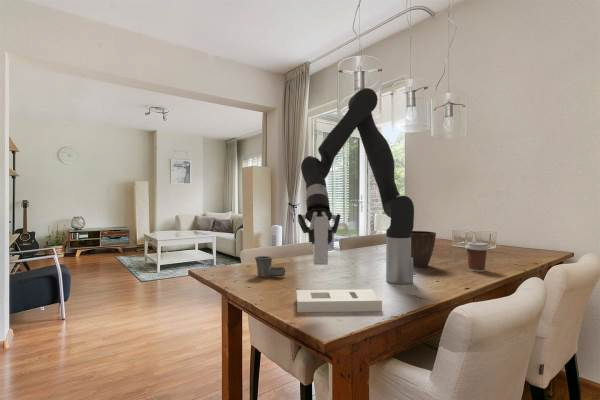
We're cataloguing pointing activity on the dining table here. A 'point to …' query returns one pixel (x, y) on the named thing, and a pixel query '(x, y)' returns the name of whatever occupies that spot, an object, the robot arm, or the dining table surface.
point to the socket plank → (338, 301)
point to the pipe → (268, 267)
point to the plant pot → (422, 247)
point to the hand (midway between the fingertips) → (321, 242)
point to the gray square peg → (320, 240)
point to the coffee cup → (476, 256)
